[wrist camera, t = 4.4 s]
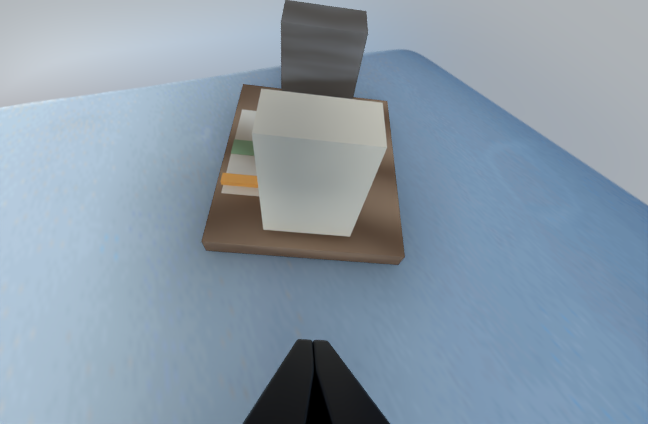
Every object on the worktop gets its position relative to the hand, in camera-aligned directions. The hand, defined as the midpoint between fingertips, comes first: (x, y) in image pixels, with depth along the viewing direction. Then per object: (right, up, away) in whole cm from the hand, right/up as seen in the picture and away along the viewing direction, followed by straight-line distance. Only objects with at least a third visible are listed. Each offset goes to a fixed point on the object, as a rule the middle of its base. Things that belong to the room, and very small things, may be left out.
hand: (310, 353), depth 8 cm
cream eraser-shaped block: (-1, +5, +15) cm, 15 cm away
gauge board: (-1, +8, +19) cm, 20 cm away
